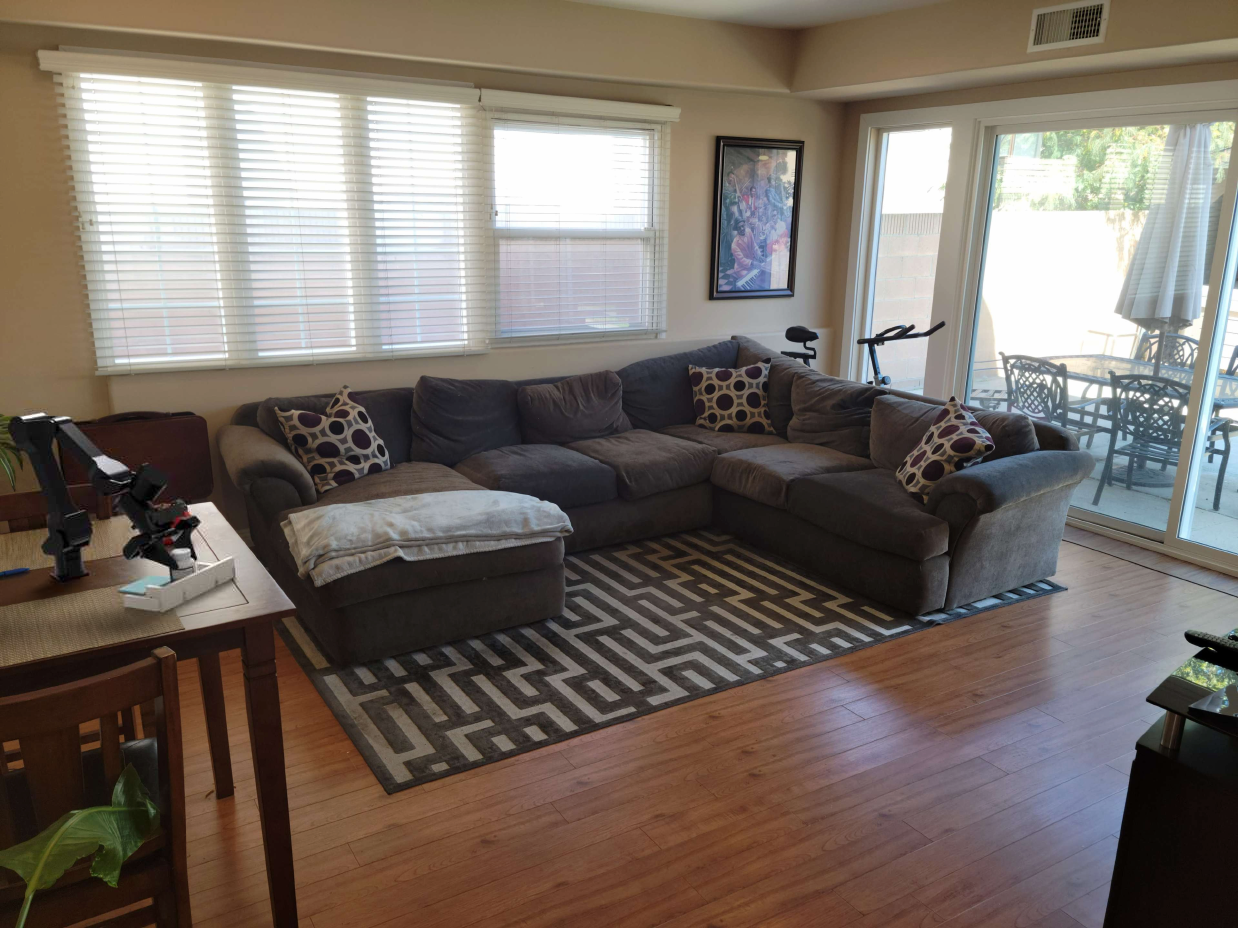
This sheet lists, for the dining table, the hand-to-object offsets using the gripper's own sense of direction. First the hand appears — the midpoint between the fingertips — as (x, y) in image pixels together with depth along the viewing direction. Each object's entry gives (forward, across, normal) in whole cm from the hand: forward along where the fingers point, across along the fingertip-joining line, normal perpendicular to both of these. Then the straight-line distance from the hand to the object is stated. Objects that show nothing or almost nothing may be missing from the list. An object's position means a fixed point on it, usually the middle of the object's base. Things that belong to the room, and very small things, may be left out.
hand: (186, 564), depth 203 cm
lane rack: (+3, 0, +6) cm, 7 cm away
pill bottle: (+4, 0, +6) cm, 7 cm away
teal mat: (-4, 0, +13) cm, 14 cm away
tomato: (-17, +27, +27) cm, 42 cm away
